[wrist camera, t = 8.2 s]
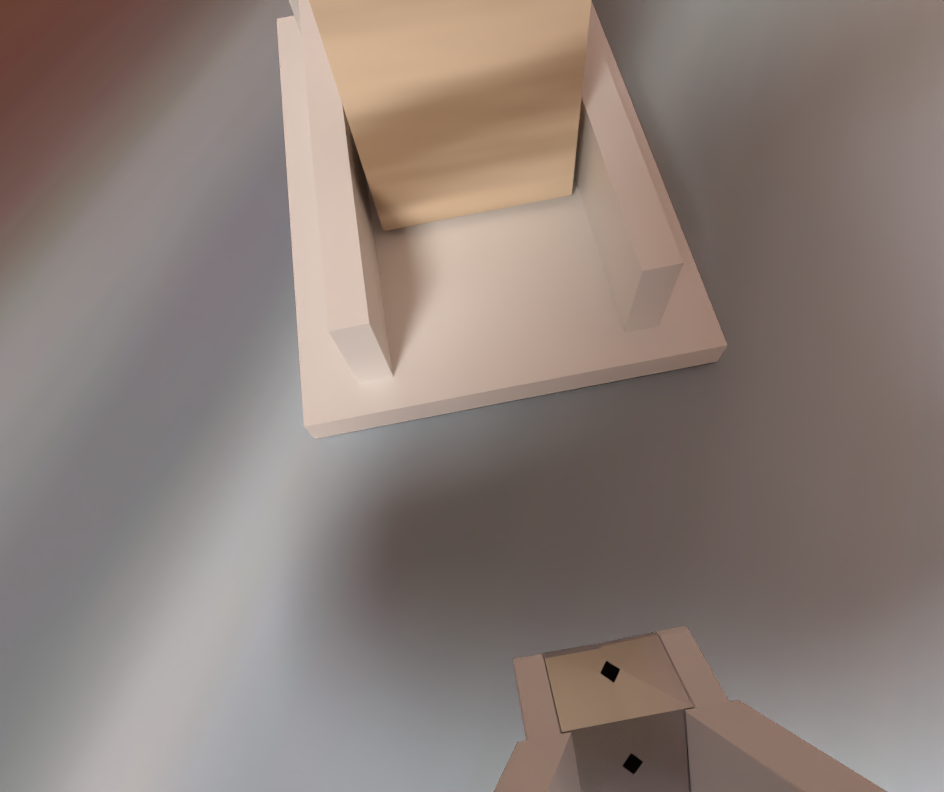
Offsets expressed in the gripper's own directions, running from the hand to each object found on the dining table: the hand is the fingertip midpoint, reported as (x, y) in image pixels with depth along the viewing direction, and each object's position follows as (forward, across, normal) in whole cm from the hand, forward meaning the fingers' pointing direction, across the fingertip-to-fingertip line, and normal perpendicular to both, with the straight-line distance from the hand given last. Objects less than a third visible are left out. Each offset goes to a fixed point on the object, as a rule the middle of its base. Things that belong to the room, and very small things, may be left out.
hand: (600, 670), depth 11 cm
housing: (+15, 0, -8) cm, 17 cm away
